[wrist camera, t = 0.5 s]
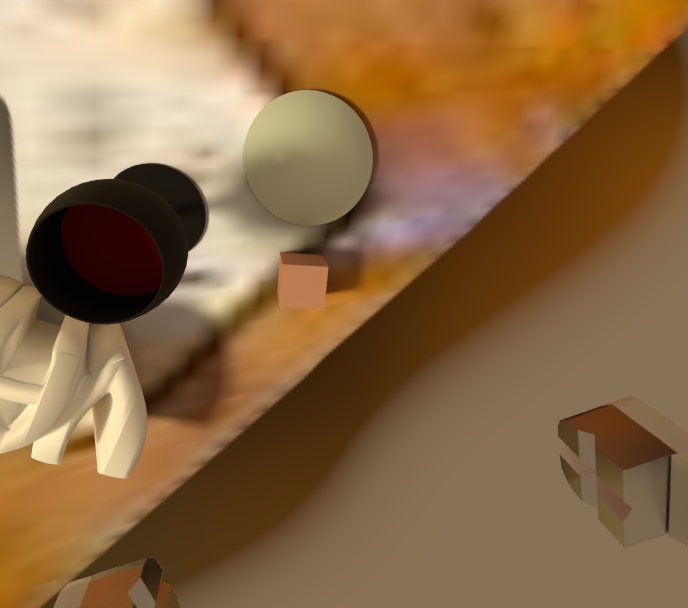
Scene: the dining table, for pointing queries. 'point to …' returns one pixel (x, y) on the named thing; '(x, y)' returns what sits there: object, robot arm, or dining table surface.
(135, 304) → the wine glass
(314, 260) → the orange cube
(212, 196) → the dining table surface
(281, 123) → the tile
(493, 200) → the dining table surface
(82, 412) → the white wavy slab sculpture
